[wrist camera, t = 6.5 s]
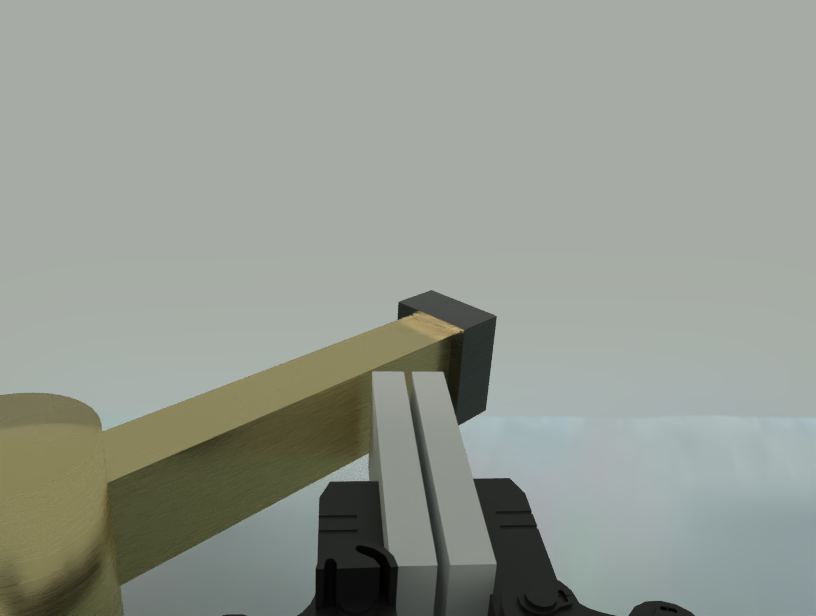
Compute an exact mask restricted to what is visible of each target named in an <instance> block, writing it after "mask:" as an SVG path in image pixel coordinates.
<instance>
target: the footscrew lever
mask: <svg viewBox="0 0 816 616" xmlns="http://www.w3.org/2000/svg"><path fill="white" fill-rule="evenodd" d="M496 318H497V317H496V316H495V315H493V314H490V313H488V312H485V311H483V310H480V309H477V308H475V307H472V306H470V305H467V304H465V303H462V302H460V301H457V300H455V299H452V298H450V297H447V296H444V295H442V294H440V293H437V292H434V291H432V290H431V291H428V292H426V293H422V294H420V295H417V296H414V297H411V298H408V299H406V300H403V301H400V302H399V305H398V320H397V321H394V322H392V323H389V324H386V325H384V326H381V327H378V328H376V329H373V330H370V331H368V332H365V333H362V334H360V335H357V336H355V337H352V338H349V339H347V340H344V341H341V342H339V343H336V344H334V345H331V346H328V347H325V348H323V349H320V350H318V351H315V352H312V353H310V354H307V355H304V356H302V357H299V358H296V359H294V360H291V361H288V362H286V363H283V364H280V365H278V366H275V367H273V368H270V369H267V370H265V371H262V372H259V373H257V374H254V375H251V376H249V377H246V378H244V379H241V380H238V381H236V382H233V383H230V384H228V385H225V386H222V387H220V388H217V389H214V390H212V391H209V392H206V393H204V394H201V395H199V396H196V397H194V398H191V399H188V400H185V401H183V402H180V403H178V404H175V405H172V406H169V407H167V408H164V409H161V410H159V411H156V412H153V413H151V414H148V415H145V416H143V417H140V418H138V419H135V420H132V421H130V422H127V423H124V424H122V425H119V426H116V427H114V428H111V429H108V430H106V431H103V432H102V426H101V421H100V418H99V417H98V415H97V413H96V412H95V411H94V410H93V409H92V408H91V407H89V406H88V405H86V404H85V403H83V402H80V401H78V400H76V399H72V398H70V397H65V396H61V395H55V394H45V393H17V394H7V395H0V616H124V613H123V604H122V596H121V587H120V586H121V585H122V584H124V583H126V582H128V581H130V580H132V579H134V578H136V577H137V576H139V575H141V574H143V573H145V572H147V571H149V570H151V569H152V568H154V567H156V566H158V565H160V564H162V563H164V562H166V561H167V560H169V559H171V558H173V557H175V556H177V555H179V554H181V553H182V552H184V551H186V550H188V549H190V548H192V547H194V546H196V545H197V544H199V543H201V542H203V541H205V540H207V539H209V538H211V537H212V536H214V535H216V534H218V533H220V532H222V531H224V530H226V529H227V528H229V527H231V526H233V525H235V524H237V523H239V522H241V521H242V520H244V519H246V518H248V517H250V516H252V515H254V514H256V513H257V512H259V511H261V510H263V509H265V508H267V507H269V506H271V505H272V504H274V503H276V502H278V501H280V500H282V499H284V498H286V497H287V496H289V495H291V494H293V493H295V492H297V491H299V490H301V489H302V488H304V487H306V486H308V485H310V484H312V483H314V482H316V481H317V480H319V479H321V478H323V477H325V476H327V475H329V474H331V473H332V472H334V471H336V470H338V469H340V468H342V467H344V466H346V465H347V464H349V463H351V462H353V461H355V460H357V459H359V458H361V457H362V456H364V455H366V454H368V453H369V439H370V414H371V388H372V371H392V372H404V376H405V382H406V388H407V393H408V399H409V405H410V396H411V380H412V372H443V373H444V376H445V380H446V384H447V387H448V391H449V394H450V398H451V402H452V405H453V409H454V412H455V416H456V420H457V423H458V425H460V424H462V423H464V422H466V421H467V420H469V419H471V418H473V417H474V416H476V415H478V414H480V413H482V412H483V411H485V410H486V403H487V395H488V386H489V376H490V369H491V360H492V352H493V344H494V335H495V326H496Z"/></svg>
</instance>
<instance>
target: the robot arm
mask: <svg viewBox="0 0 816 616" xmlns="http://www.w3.org/2000/svg"><path fill="white" fill-rule="evenodd" d="M368 468H369V481H349V482H330V483H329V484H328V486H327V487H326V489H325V490H324V492H323V493H322V495H321V496H320V500H319V534H318V563H317V567H316V593H315V597H314V598H313V600H312V602H311V604H310V605H309V606H308V607H307V608H306V609H305V610H304V611H303V612H302V613H301V614H299V615H298V616H615V615H610V614H606V613H602V612H598V611H595V610H592V609H589V608H587V607H585V606H583V605H581V604H579V602H578V600H577V598H576V597H575V595H574V594H573V592H572V591H571V590H570V589H569V588H568V587H567V586H565V585H564V584H563V583H561V582H560V581H558V580H557V578H556V576H555V573H554V570H553V568H552V565H551V562H550V559H549V557H548V554H547V551H546V549H545V546H544V543H543V541H542V538H541V535H540V533H539V530H538V529H537V525H536V522H535V519H534V516H533V514H531V508H530V506H529V503H528V500H527V498H526V495H525V493H524V492H523V491H522V490H521V489H520V488H519V487H518V486H517V485H516V484H515V483H514V482H513V481H512V480H511V479H510V478H493V479H473V477H472V473H471V470H470V466H469V463H468V459H467V455H466V452H465V448H464V445H463V441H462V437H461V434H460V430H459V427H458V423H457V420H456V416H455V412H454V409H453V405H452V402H451V398H450V394H449V391H448V387H447V384H446V380H445V376H444V373H443V372H412V380H411V396H410V405H409V399H408V393H407V388H406V382H405V376H404V372H392V371H372V388H371V414H370V439H369V464H368ZM223 616H246V615H223ZM629 616H695V615H694V614H692V613H691V612H690V611H688V610H686V609H684V608H682V607H680V606H678V605H676V604H671V603H667V602H663V601H648V602H644V603H642V604H640V605H637V606H635V607H634V609H633V610H632V612H631V613H630V614H629Z"/></svg>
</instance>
